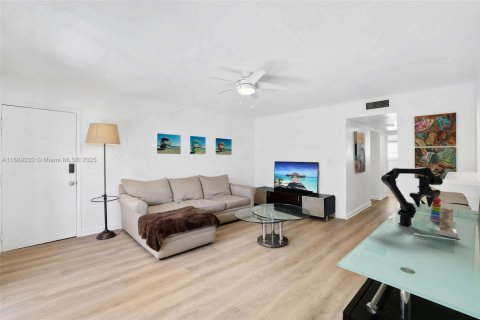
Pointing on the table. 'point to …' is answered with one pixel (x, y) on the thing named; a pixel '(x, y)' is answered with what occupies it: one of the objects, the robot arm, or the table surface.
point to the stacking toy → (435, 210)
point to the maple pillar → (446, 219)
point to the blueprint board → (447, 232)
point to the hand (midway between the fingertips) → (424, 207)
